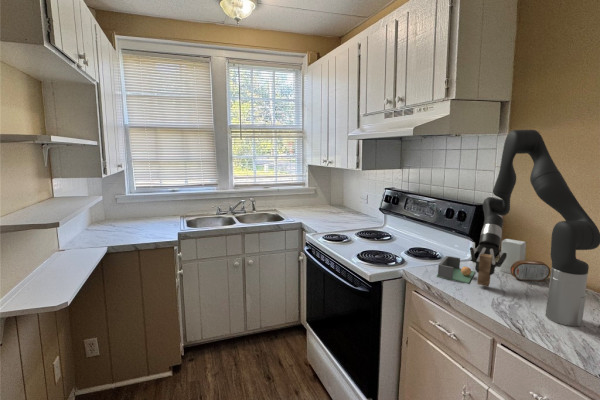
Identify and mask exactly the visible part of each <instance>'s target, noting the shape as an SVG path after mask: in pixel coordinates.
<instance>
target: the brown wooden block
mask: <svg viewBox="0 0 600 400" xmlns="http://www.w3.org/2000/svg"><path fill="white" fill-rule="evenodd" d="M491 265H492V255H489V254H483V253H481V255H480V260H479V272H477V282H476V284H477V285H480V286H484V287H490V286H489V285H490V284H491V276H492V275H490V268H491Z"/></svg>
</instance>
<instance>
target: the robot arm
mask: <svg viewBox="0 0 600 400" xmlns="http://www.w3.org/2000/svg"><path fill="white" fill-rule="evenodd" d="M518 154H520V155H521V154H522V155H523V154H528V155H529V157H530V158H531V159H532V162H533V167H532V170H531V172H530V178H529V181H530V184H531V186H532V188H533V190H534V192H535V194H536V196H537V197H539V199H540V200H542V202H544V203H545V204H546V205H548V206H549V208H552V209H553V210H555V212H557V213H558V214H559V215H561V217H562V218H563V219H564V220H561V221H558V222H557V223H555V225H554V226H553V228H552V231H551V237H550V238H551V243H550V260H551V268H550V274H549V285H548V292H547V299H546V300H547V301H546V308H545V314H544V315H545V317H546V318H547V319H548V320H550V321H551V322H554V323H557V324H561V325H565V326H569V327H579V328H580V327H581V328H582V325H583V318H584V311H585V304H586V297H585V296H586V295H585V294H586V289H587V282H588V277H589V276H588V275H589V267H590V266H589V264H588V263H587V262H585V261H583V260H581V259H578V258H577V251H589V250H596V249H597V248H598V247H599V246H600V230H599V228H598V225H596V223H595V222H594V221H593V220H592V218H591V216H590V215H589V214H588V213H587V211H586V210H585V209H584V208H583V206H582V205H581V204H580V202H579V201H578V199H577V197H576V196H575V195H574V194H573V192H572V191H571V188H570V187H569V186H568V183H567V181H566V179H565V178H564V176H563V175H562V173H561V172H560V170H559V169H558V167H557V165H556V164H555V162H554V160H553V158H552V155H550V152H549V150H548V148H547V145H546V143H545V141H544V139H543V137H542V134H541V133H540V132H539V131H537V130H536V129H513V130H510V131H509V132H508V133H507V135H506V137H505V141H504V144H503V149H502V154H501V159H500V166H499V172H498V176H497V178H496V181H495V184H494V186H493V188H492V194H493V195H494V196H495V197H491V196H488V197H486V198H485V199H484V200H483V203H482V211H483V217H484V219H483V220H484V221H483V225H482V229H481V232H480V237H479V241H478V242H479V243H478V246H477V247H472V246H471V247H469V252H470V256H471V261H472V263H475V268H474V269H475V272H476V273H478V272H479V260H480V255H481V253H483V254H489V255H492V265H491V268H490V275H491V276H492V275H494V274H495V268H497V267H498V268H500V267H501V265H502V264H503V262H504V260H505V259H506V257H507V253H502V252H501V250H500V247H501V242H502V235H503V234H502V229H503V225H504V220H503V217H504V216H506V215H508V214H509V213H510V210H511V196H512V193H513V191H514V189H515V185H516V184H517V174H516V170H515V168H514V159H515V157H516V155H518ZM497 197H498V198H497ZM476 253H478V257H477V258H476V255H475V254H476ZM497 256H499V259H498V261H497V262H496V259H495V258H496V257H497Z"/></svg>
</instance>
